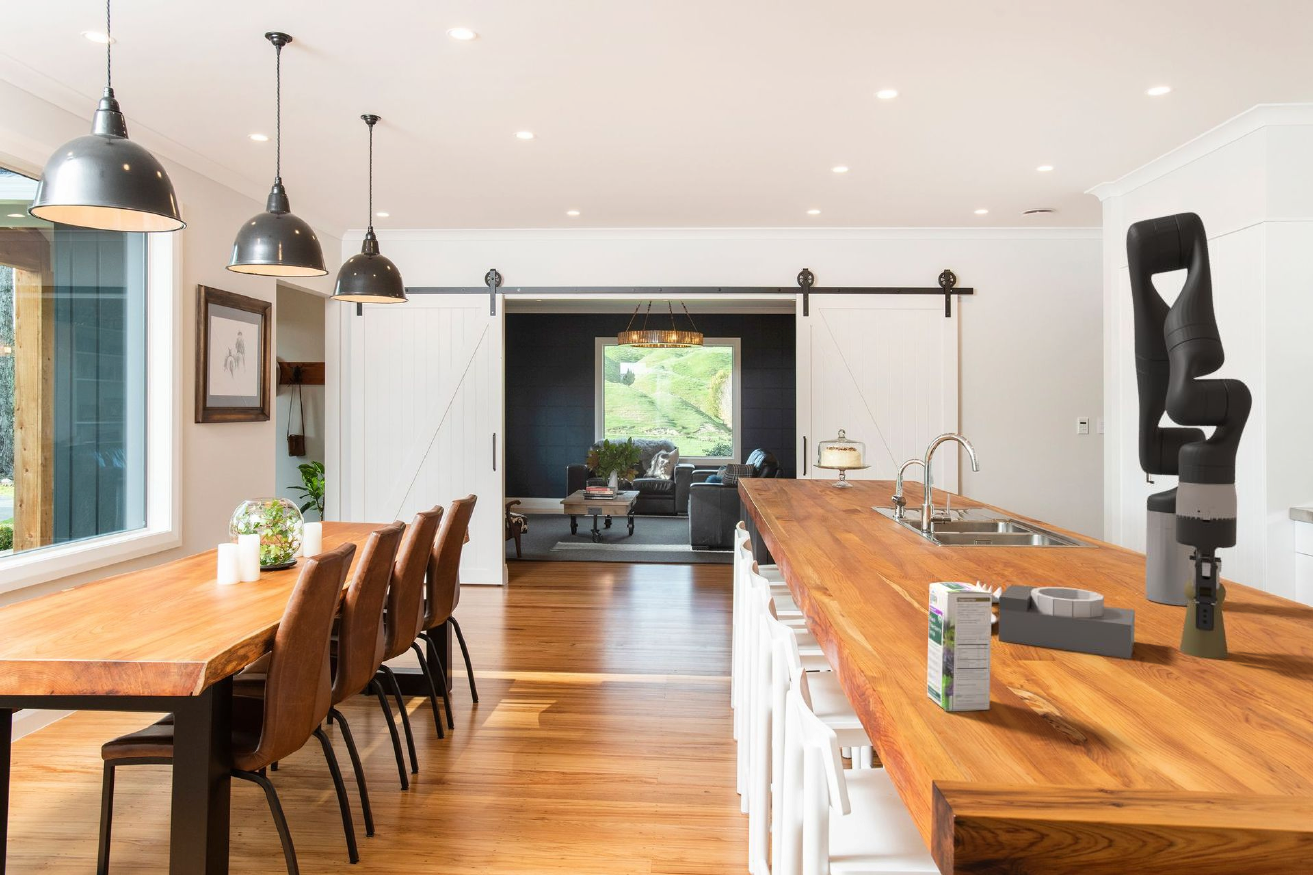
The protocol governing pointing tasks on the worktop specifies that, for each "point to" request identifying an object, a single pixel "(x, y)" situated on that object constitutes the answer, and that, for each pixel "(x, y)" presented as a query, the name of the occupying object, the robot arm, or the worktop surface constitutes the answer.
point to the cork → (1201, 640)
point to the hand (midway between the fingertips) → (1204, 624)
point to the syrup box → (959, 646)
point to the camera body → (1065, 621)
